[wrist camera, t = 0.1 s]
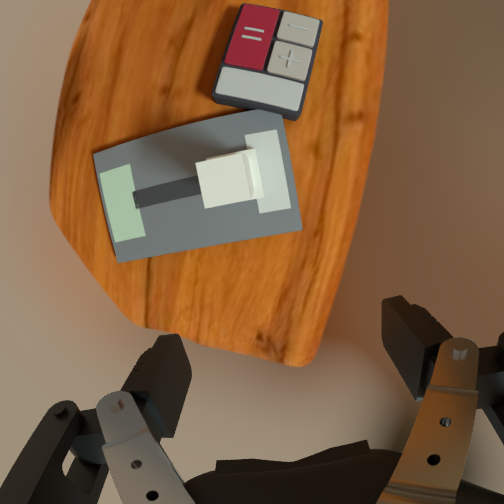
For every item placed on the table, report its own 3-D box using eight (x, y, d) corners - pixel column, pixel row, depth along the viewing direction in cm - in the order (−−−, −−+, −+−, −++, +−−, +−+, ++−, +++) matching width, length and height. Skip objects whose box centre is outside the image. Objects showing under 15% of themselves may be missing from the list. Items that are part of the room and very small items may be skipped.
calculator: (324, 17, 28) (301, 115, 32) (319, 31, 33) (296, 122, 36) (241, -1, 28) (209, 94, 31) (243, 14, 32) (214, 103, 36)
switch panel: (98, 154, 37) (93, 154, 36) (279, 107, 35) (279, 105, 34) (122, 260, 42) (117, 263, 40) (301, 227, 39) (302, 230, 38)
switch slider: (207, 158, 36) (182, 154, 24) (255, 148, 35) (251, 139, 24) (216, 205, 37) (196, 222, 26) (264, 196, 37) (265, 209, 25)
